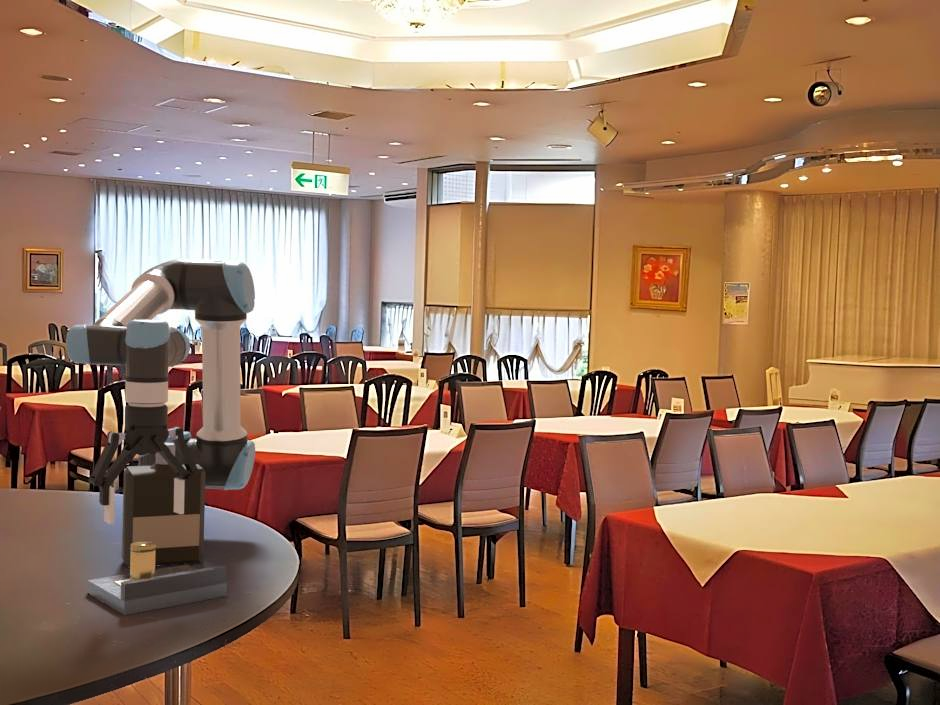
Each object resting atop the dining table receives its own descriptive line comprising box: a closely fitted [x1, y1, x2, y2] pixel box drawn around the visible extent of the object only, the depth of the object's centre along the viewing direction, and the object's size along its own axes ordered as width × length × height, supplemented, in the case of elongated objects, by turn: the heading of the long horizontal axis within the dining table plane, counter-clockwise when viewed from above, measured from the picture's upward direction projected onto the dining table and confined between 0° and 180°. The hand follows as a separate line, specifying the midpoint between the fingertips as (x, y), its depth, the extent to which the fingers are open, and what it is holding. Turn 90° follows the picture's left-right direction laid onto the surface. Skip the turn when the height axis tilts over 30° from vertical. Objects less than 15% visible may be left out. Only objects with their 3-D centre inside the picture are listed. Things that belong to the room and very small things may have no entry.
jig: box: [87, 564, 228, 616], centre depth 190 cm, size 20×16×6 cm
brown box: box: [121, 443, 206, 569], centre depth 213 cm, size 8×16×25 cm, turn 115°
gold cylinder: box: [129, 541, 156, 581], centre depth 188 cm, size 4×4×10 cm
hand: (144, 517), depth 188 cm, fingers open, 13 cm apart
